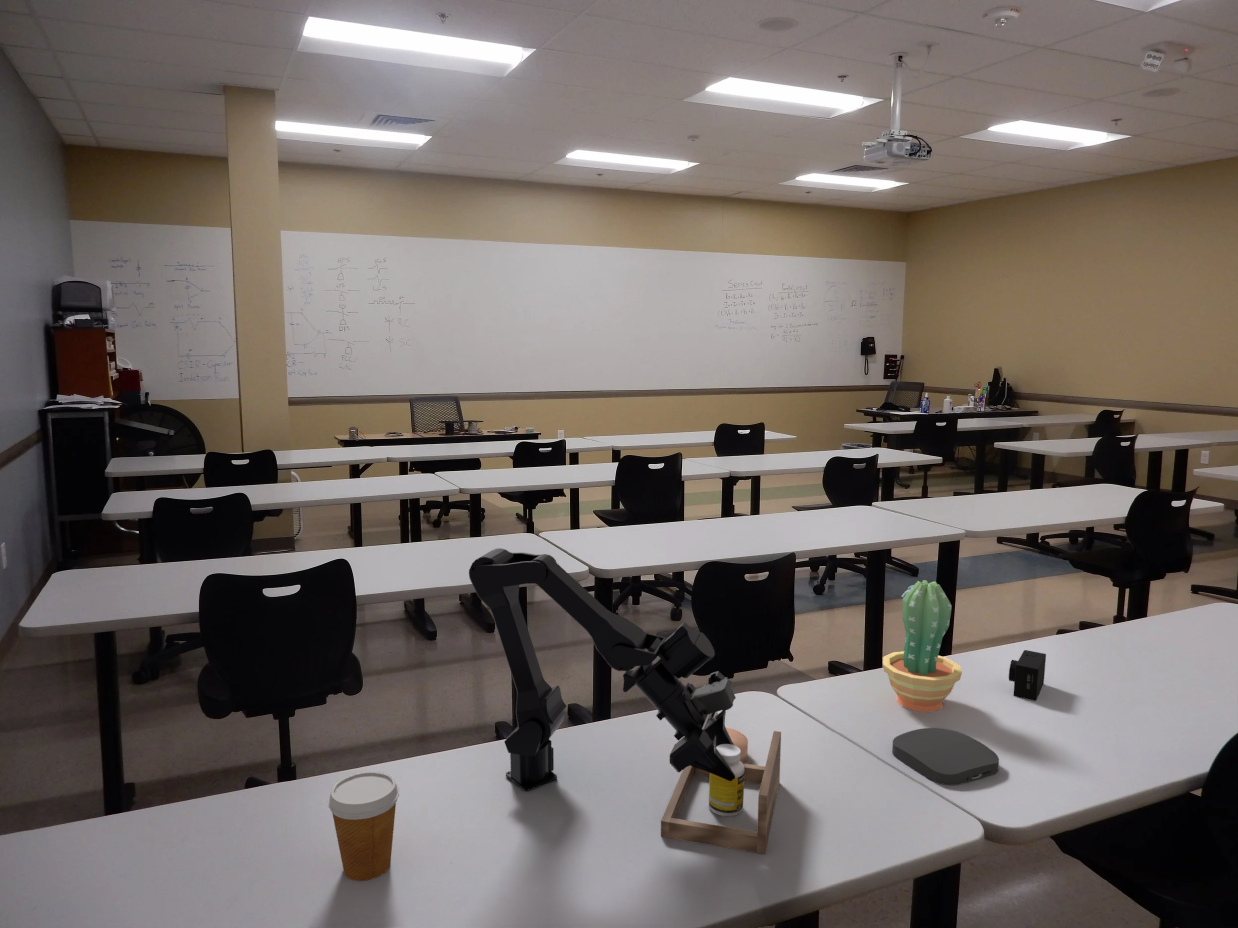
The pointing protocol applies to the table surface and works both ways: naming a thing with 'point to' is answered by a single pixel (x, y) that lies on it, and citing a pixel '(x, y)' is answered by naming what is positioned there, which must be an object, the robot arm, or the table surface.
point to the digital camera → (1028, 674)
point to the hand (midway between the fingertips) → (735, 769)
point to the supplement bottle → (728, 784)
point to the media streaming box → (945, 755)
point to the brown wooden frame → (721, 834)
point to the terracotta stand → (739, 743)
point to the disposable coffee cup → (364, 822)
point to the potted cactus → (923, 651)
